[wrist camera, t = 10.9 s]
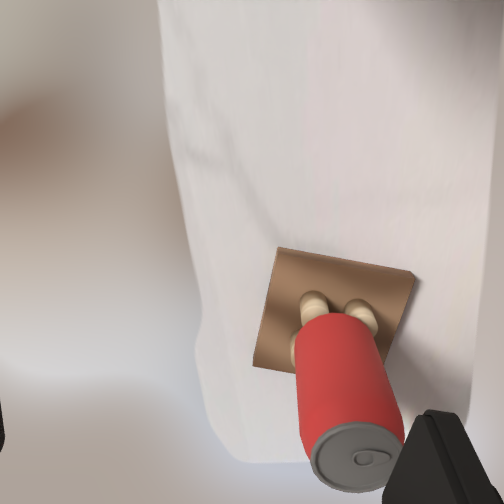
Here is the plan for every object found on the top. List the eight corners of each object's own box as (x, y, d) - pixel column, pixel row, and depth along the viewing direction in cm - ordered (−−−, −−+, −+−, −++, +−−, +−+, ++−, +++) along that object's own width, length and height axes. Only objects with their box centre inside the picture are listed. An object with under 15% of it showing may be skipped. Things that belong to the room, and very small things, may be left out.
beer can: (373, 371, 38) (413, 498, 27) (296, 376, 39) (305, 502, 28) (372, 305, 35) (416, 415, 24) (290, 312, 36) (297, 421, 25)
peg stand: (277, 246, 39) (278, 268, 34) (410, 271, 39) (426, 296, 35) (253, 356, 43) (251, 387, 39) (371, 377, 44) (381, 410, 40)
